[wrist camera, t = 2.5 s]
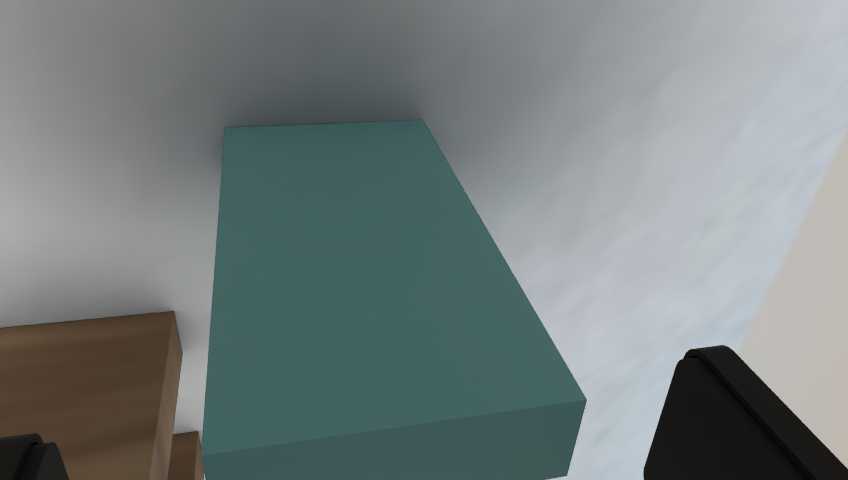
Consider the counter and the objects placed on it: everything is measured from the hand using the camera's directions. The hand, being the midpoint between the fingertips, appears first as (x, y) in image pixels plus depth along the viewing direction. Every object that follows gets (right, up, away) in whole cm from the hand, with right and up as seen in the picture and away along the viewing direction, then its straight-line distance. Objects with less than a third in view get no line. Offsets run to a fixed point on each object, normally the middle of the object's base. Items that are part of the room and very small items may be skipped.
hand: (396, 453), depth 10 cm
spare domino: (-2, +6, +7) cm, 9 cm away
